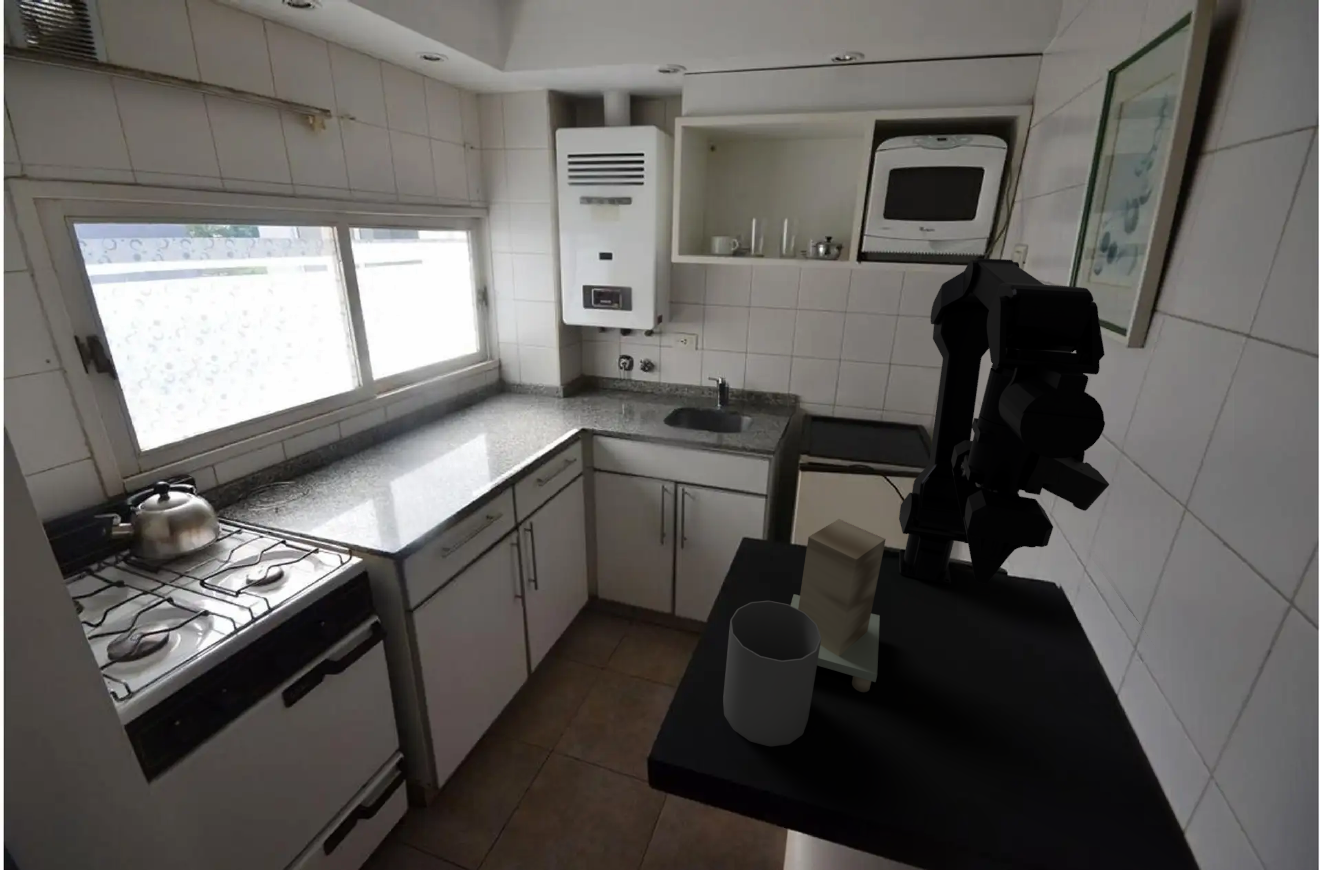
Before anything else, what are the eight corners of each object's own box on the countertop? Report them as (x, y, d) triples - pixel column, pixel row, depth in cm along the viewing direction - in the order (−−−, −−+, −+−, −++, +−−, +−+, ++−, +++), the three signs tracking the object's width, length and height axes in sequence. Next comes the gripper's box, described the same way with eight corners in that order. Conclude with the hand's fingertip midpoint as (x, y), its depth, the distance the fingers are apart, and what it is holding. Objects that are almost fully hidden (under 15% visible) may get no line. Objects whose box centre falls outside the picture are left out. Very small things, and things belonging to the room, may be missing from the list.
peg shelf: (790, 614, 70) (793, 594, 69) (875, 636, 67) (879, 615, 66) (776, 668, 61) (778, 646, 60) (872, 697, 58) (877, 674, 57)
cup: (715, 732, 53) (723, 648, 50) (729, 670, 61) (736, 594, 57) (806, 755, 51) (820, 670, 48) (809, 688, 59) (821, 610, 55)
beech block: (824, 607, 67) (838, 518, 62) (867, 631, 63) (885, 538, 59) (795, 629, 63) (808, 536, 59) (838, 656, 59) (856, 559, 55)
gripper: (1153, 470, 43) (1092, 634, 48) (1083, 405, 59) (1043, 533, 65) (990, 446, 47) (950, 601, 52) (966, 391, 63) (937, 513, 69)
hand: (975, 558), depth 59 cm, fingers open, 9 cm apart
